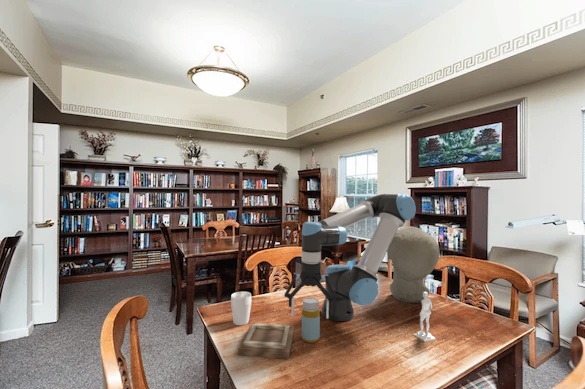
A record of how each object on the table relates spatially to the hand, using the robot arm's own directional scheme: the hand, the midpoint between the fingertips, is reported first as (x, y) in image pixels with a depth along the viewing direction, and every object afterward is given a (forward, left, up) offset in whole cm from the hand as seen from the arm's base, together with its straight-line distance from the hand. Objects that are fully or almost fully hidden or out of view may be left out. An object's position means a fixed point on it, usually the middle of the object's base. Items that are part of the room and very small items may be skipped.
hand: (309, 316), depth 109 cm
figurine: (-46, -7, -9) cm, 48 cm away
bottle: (0, 0, -9) cm, 9 cm away
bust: (-52, -42, -9) cm, 68 cm away
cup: (+31, -11, -9) cm, 34 cm away
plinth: (+16, +5, -9) cm, 19 cm away
